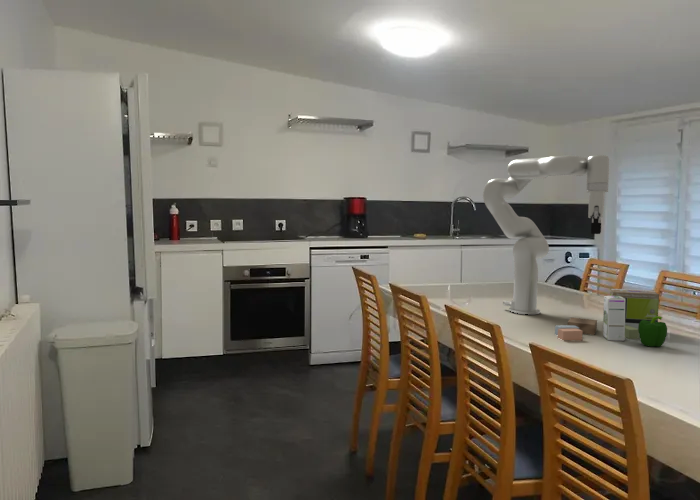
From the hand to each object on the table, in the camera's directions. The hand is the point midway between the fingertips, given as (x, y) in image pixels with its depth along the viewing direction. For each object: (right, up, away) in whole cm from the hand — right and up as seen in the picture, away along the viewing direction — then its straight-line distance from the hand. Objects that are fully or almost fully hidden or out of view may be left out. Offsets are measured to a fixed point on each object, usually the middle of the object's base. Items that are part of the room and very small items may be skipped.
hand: (596, 233), depth 214 cm
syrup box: (-4, -37, -22) cm, 43 cm away
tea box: (+10, -36, -8) cm, 38 cm away
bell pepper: (+5, -38, -30) cm, 49 cm away
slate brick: (-18, -37, -18) cm, 44 cm away
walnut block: (-10, -36, -10) cm, 39 cm away
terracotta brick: (-19, -37, -23) cm, 48 cm away
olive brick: (+3, -37, -18) cm, 41 cm away
